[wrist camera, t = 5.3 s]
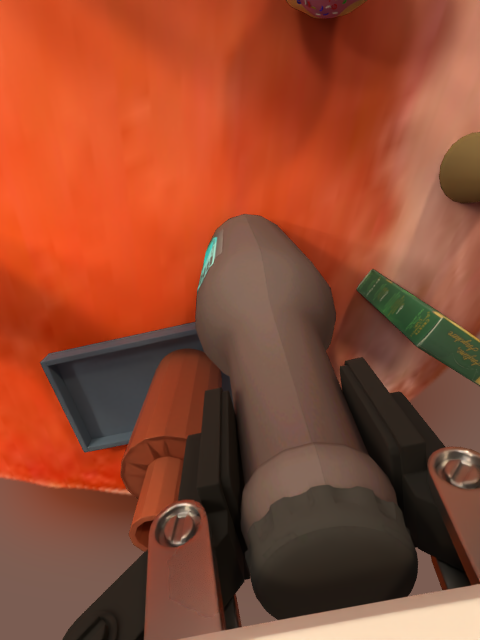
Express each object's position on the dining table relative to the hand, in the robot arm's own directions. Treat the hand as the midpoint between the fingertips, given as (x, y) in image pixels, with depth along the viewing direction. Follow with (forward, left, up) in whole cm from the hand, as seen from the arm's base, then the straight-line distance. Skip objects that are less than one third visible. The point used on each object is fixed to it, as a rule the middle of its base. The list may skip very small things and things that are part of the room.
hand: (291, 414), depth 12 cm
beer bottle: (0, 0, -25) cm, 25 cm away
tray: (-10, -12, -26) cm, 30 cm away
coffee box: (+13, -8, -26) cm, 31 cm away
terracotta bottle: (-10, -12, -25) cm, 30 cm away
